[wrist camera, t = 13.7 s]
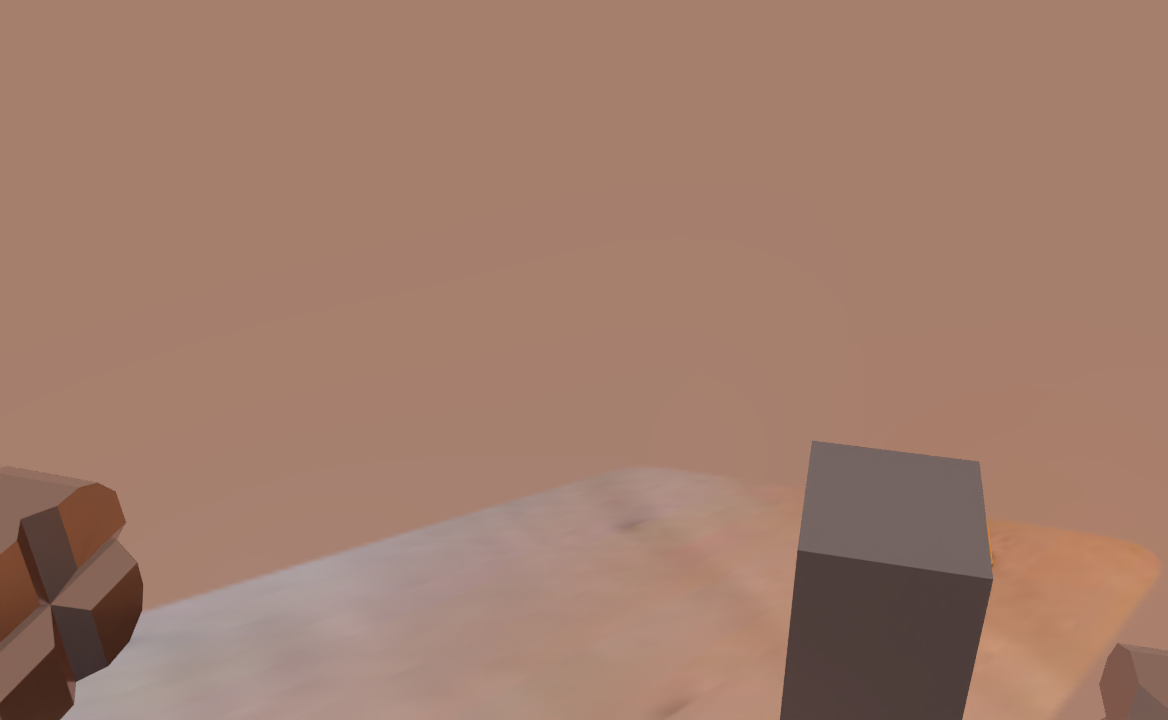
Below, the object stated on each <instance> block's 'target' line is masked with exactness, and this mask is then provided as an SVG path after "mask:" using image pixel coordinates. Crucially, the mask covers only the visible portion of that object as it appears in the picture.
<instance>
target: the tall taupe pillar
mask: <svg viewBox="0 0 1168 720" xmlns="http://www.w3.org/2000/svg"><path fill="white" fill-rule="evenodd" d="M992 566H993V561H992V553H991V544H990V536H989V528H988V521H986V515H985V506H984V498H983V489H982V481H981V473H980V464H979V462H977V461H969V460H962V459H953V458H946V457H938V456H929V455H922V454H914V453H905V452H897V451H889V450H881V449H873V448H865V447H857V446H850V445H842V444H833V443H825V442H818V441H812V447H811V454H810V461H809V469H808V477H807V484H806V491H805V499H804V506H803V514H802V521H801V529H800V537H799V544H798V552H797V562H796V571H795V581H794V590H793V600H792V610H791V619H790V629H789V638H788V648H787V658H786V667H785V677H784V686H783V696H782V706H781V715H780V720H962V718H963V713H964V709H965V704H966V699H967V695H968V690H969V686H970V681H971V677H972V672H973V668H974V663H975V659H976V654H977V650H978V645H979V641H980V636H981V632H982V627H983V623H984V618H985V614H986V609H987V605H988V600H989V596H990V591H991V587H992V582H993V574H992Z"/></svg>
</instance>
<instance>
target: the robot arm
mask: <svg viewBox="0 0 1168 720" xmlns="http://www.w3.org/2000/svg"><path fill="white" fill-rule="evenodd" d="M125 523H126V521H125V518H124V515H123V512H122V509H121V506H120V503H119V500H118V497H117V494H116V492H115V491H113V490H111V489H109V488H107V487H105V486H103V485H101V484H99V483H97V482H92V481H86V480H80V479H75V478H69V477H64V476H59V475H53V474H48V473H43V472H37V471H32V470H27V469H21V468H16V467H10V466H4V467H2V466H0V720H60V719H61V718H62V717H63V716H64V715H65V714H66V713H67V712H68V710H69V709H70V708H71V707H72V706H73V705H74V699H75V688H76V682H77V681H79V680H81V679H83V678H85V677H87V676H89V675H91V674H93V673H95V672H97V671H99V670H101V669H103V668H105V667H107V666H109V665H110V664H111V662H112V661H113V660H114V659H115V658H116V657H117V655H118V654H119V653H120V652H121V651H122V650H123V648H124V647H125V646H126V645H127V644H128V643H129V641H130V639H131V636H132V634H133V631H134V629H135V626H136V624H137V622H138V619H139V617H140V614H141V612H142V602H143V582H142V578H141V574H140V571H139V567H138V563H137V562H136V560H135V559H134V558H133V557H132V556H131V555H130V554H129V553H128V552H127V550H126V549H125V548H124V547H123V546H122V545H121V544H120V543H119V541H117V538H118V537H119V535H120V533H121V531H122V529H123V527H124V525H125ZM1099 685H1100V690H1101V694H1102V699H1103V703H1104V708H1105V713H1106V717H1105V718H1103V719H1102V720H1168V651H1166V650H1159V649H1153V648H1146V647H1139V646H1133V645H1127V644H1120V643H1117V645H1116V646H1115V648H1114V649H1113V651H1112V652H1111V654H1110V655H1109V656H1108V658H1107V662H1106V665H1105V668H1104V671H1103V674H1102V677H1101V680H1100V684H1099Z"/></svg>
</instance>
